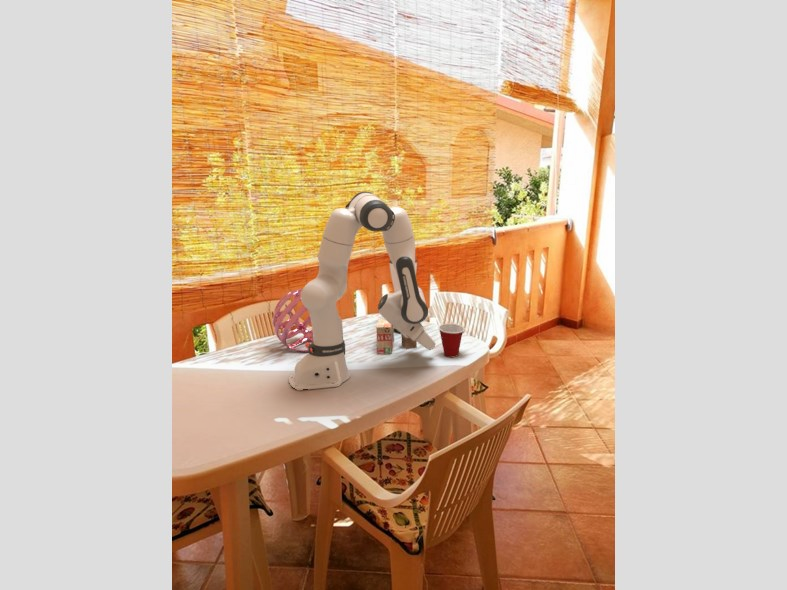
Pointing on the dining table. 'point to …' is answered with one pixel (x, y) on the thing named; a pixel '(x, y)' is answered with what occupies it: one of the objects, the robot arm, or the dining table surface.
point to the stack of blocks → (384, 337)
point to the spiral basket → (291, 321)
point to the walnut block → (408, 343)
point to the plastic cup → (451, 338)
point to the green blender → (397, 280)
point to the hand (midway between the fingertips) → (432, 346)
